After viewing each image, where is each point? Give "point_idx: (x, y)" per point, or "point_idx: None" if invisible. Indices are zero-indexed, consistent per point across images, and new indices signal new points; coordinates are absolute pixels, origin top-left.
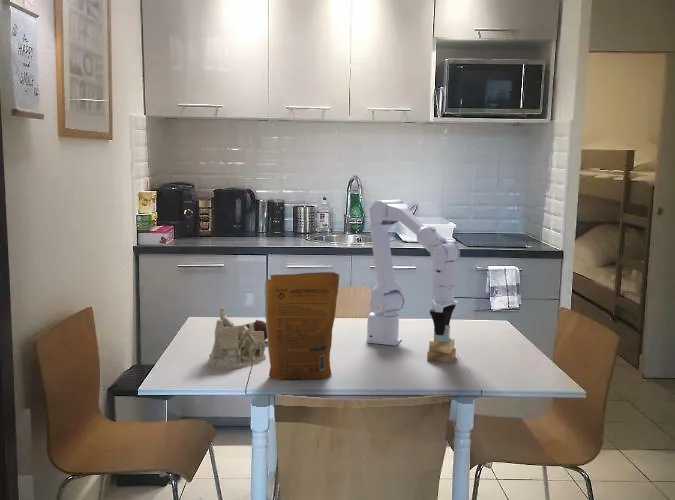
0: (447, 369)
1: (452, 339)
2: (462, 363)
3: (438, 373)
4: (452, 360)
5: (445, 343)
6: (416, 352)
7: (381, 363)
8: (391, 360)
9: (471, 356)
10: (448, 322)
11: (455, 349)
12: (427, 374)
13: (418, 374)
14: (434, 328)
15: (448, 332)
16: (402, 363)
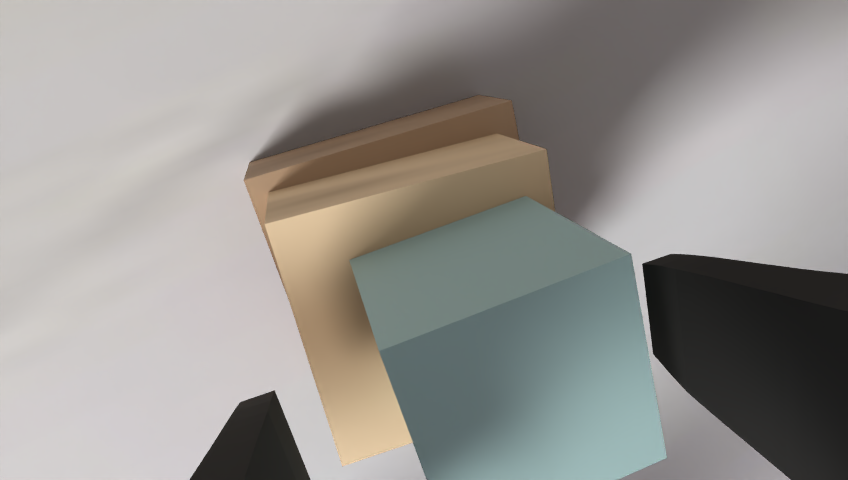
0: (650, 53)
1: (352, 214)
2: (415, 6)
3: (771, 71)
4: (444, 108)
5: (552, 208)
6: (367, 472)
7: (730, 476)
8: (647, 473)
9: (109, 21)
10: (260, 460)
11: (271, 170)
12: (820, 130)
13: (841, 182)
14: (657, 442)
15: (561, 241)
16: (672, 389)
